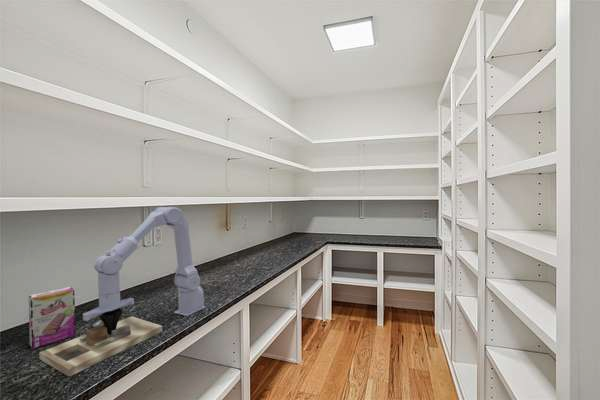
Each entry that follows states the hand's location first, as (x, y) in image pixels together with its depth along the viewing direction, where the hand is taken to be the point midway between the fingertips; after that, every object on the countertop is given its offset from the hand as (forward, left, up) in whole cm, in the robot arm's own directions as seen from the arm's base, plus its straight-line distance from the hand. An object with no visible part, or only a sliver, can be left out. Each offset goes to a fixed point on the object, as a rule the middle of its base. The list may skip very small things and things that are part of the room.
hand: (111, 333), depth 91 cm
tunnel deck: (+2, 0, -3) cm, 3 cm away
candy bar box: (+8, -19, -3) cm, 21 cm away
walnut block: (+4, 0, -1) cm, 4 cm away
